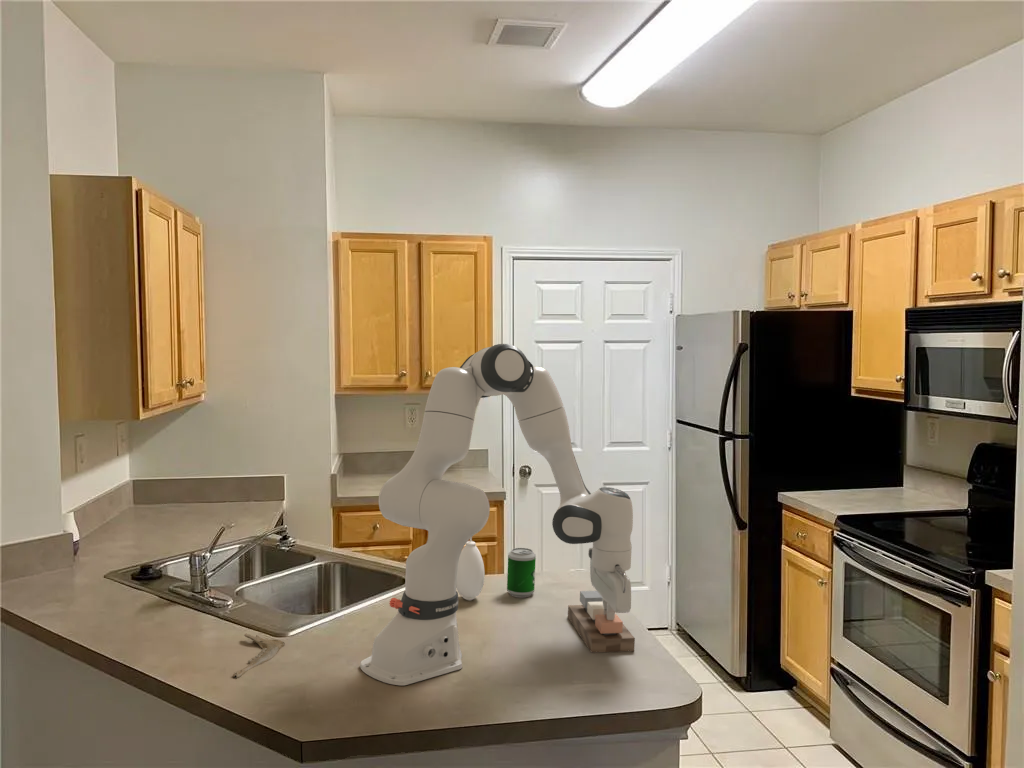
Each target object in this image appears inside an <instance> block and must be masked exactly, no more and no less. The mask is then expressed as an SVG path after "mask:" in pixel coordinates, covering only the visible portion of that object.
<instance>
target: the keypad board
mask: <svg viewBox="0 0 1024 768" xmlns="http://www.w3.org/2000/svg"><path fill="white" fill-rule="evenodd" d="M567 607H568V609H567V619H569V621H570V623H571V624H572V626H573V627H574V628H575V630H576V631H577V633H578V635H579V636H580V638H581V639H582V640H583V643H584V644H585V645H586V647H587V648H588V649H589V651H590V653H591V654H592V653H616V652H617V653H618V652H620V653H621V652H635V646H636V645H635V642H636V641H635V639H636V638H635V637H634V635H633V634H632V632H630V631H629V629H628V628H627V627H626V626H625V624H623V629H622V633H616V635H603V634H601V633H600V631H599V630H598V629H597V627H596V626H595V623H594V622H593V619H592V618H591V616H590V615H589V614H588V613H587V612H586V611H585V607H584V606H583V605H582V604H573V605H572V604H569V605H568V606H567Z"/></svg>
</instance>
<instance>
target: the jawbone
mask: <svg viewBox="0 0 1024 768" xmlns="http://www.w3.org/2000/svg"><path fill="white" fill-rule="evenodd" d="M243 636H244V637H246V638H247V639H249V640H251V641H253V642H255V643H256V644H257V645H258V646H259V647H260V648H261V651H260V652H259V653H258V654H257V655H255V656H254V657H252V658H251V659H249V660H247V662H248V663H249V664H247V666H246V667H244V668H241V669H240V670H237V671H235V672H233V674H232V677H233V679H238V678H240V677H242V676H243V675H244V674H245V673H247V672H248V671H250V670H251V669H254V668H255V667H258V666H259V665H262V664H265V663H267V662H268V661H270V660H272V659H273V658H274V657H275V656H277V655H278V653H279V652H280V650H281V649H282V648H283V647H284V646H285V641H282V640H279V639H266V638H262V637H261V636H259V635H257V634H256V635H255V636H254V635H252V634H249V633H244V635H243Z"/></svg>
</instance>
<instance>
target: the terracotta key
mask: <svg viewBox="0 0 1024 768" xmlns="http://www.w3.org/2000/svg"><path fill="white" fill-rule="evenodd" d="M623 625H624V622H623V620H622V619H621V618H620V617H619V615H618V614H617V613H615V619H614V620H607V618H606V617H605V616H604V615H595V626H596V627H597V629H598V630H599V631H600V633H601V634H603V635H616V633H622V629H623Z"/></svg>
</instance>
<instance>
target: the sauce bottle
mask: <svg viewBox="0 0 1024 768" xmlns="http://www.w3.org/2000/svg"><path fill="white" fill-rule="evenodd" d="M472 539H473V536H472V537H471V538H470V539H469V540H468V541H467V542H466V544H465V545H464V547H463V549H462V551H461V554H460V557H459V562H458V570H457V584H456V591H457V592H458V595H460V596H461V597H462V599H464V600H466V601H472V600H475V599H476V598H477V597H478V596H479V595H480V594H481V591H482V589H483V587H484V584H485V575H486V574H485V565H484V559H483V557H482V554H481V551H480V550H479V548H478V546H477V544H476V542H475V541H473V540H472Z"/></svg>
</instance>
